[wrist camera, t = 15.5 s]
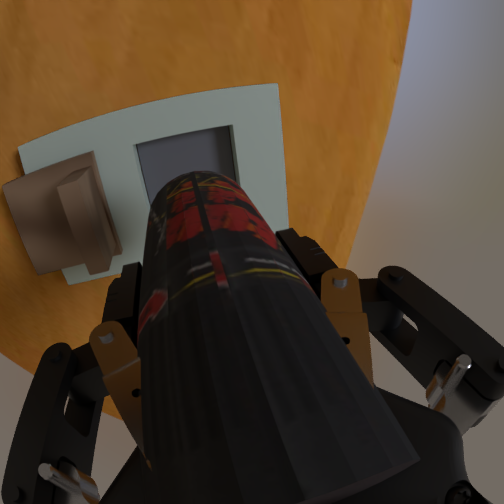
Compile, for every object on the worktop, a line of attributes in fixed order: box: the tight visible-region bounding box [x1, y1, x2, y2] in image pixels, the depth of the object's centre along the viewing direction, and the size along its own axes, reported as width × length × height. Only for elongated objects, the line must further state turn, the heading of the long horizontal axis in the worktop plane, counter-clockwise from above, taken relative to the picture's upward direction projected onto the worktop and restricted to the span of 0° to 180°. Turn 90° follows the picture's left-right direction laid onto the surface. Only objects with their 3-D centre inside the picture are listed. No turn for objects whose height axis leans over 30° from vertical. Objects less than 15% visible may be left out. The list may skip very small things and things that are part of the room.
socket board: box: [18, 83, 289, 285], centre depth 24 cm, size 14×22×2 cm, turn 97°
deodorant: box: [137, 171, 420, 504], centre depth 11 cm, size 6×6×15 cm
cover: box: [2, 150, 123, 275], centre depth 20 cm, size 9×9×5 cm
